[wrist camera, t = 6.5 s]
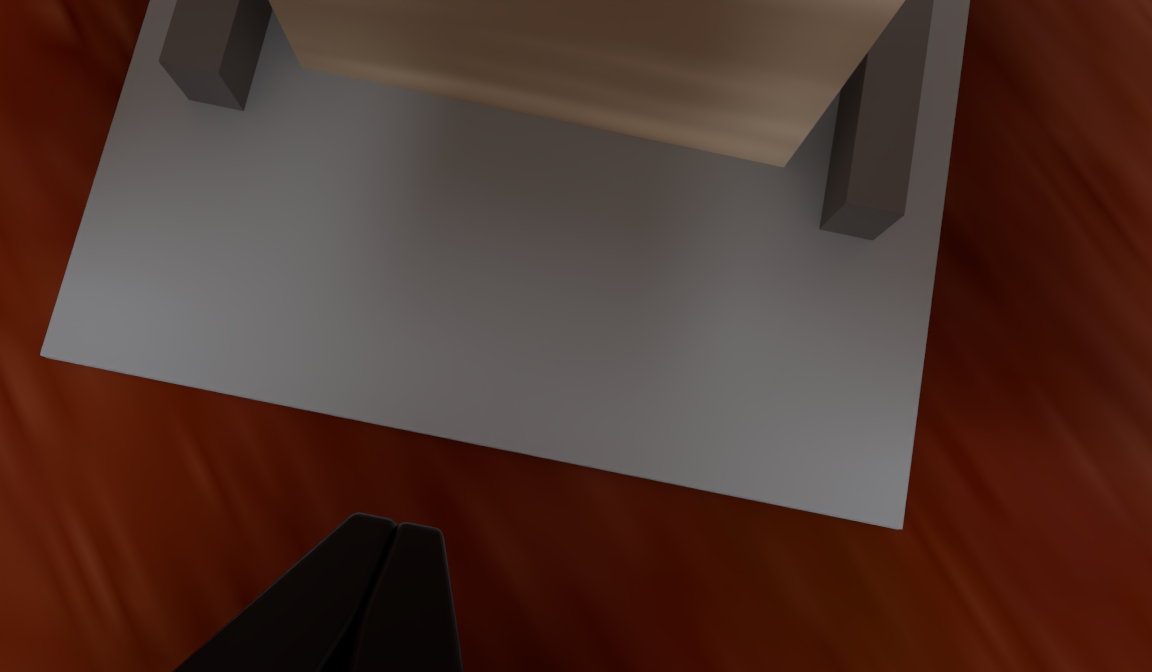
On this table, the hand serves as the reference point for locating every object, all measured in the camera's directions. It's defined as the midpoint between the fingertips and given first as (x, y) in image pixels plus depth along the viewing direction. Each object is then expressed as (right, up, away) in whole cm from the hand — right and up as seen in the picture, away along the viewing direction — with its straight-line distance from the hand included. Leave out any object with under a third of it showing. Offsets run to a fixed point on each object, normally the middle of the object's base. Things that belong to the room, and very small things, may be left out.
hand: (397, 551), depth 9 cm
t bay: (+2, +8, +9) cm, 13 cm away
